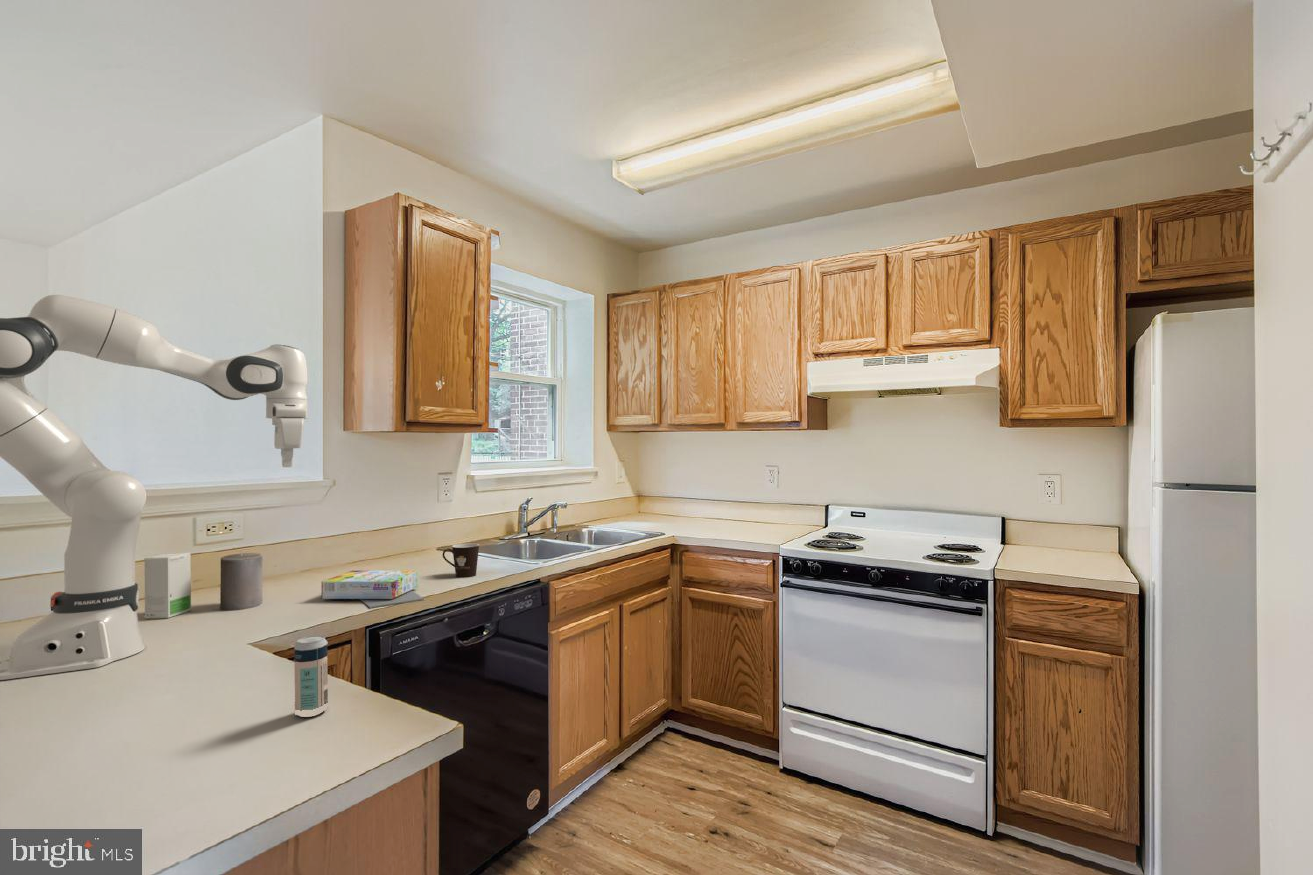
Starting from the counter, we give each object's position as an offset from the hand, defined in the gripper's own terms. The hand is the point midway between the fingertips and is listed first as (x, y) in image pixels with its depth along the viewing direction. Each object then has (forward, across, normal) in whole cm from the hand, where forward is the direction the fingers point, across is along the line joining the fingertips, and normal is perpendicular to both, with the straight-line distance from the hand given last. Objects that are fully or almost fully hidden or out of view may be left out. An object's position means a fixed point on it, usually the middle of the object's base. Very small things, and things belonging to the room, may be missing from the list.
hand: (287, 467), depth 152 cm
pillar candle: (+39, -28, -8) cm, 48 cm away
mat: (+38, -9, +26) cm, 47 cm away
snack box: (+35, -11, +18) cm, 41 cm away
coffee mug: (+38, -26, +53) cm, 71 cm away
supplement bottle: (+39, +62, -3) cm, 74 cm away
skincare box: (+39, -30, -24) cm, 54 cm away
